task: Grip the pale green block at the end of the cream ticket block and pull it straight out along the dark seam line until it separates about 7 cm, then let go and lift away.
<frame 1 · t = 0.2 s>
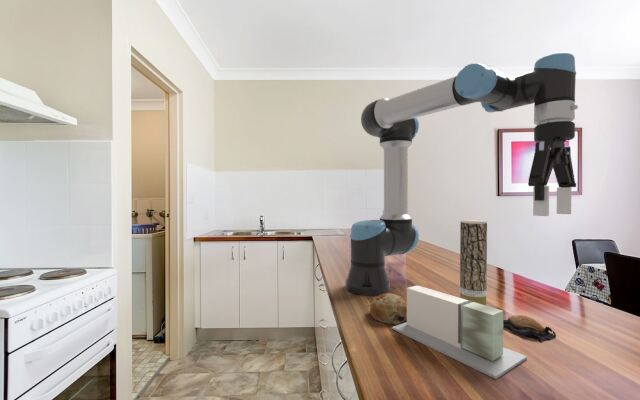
hand: (553, 215, 71), 28 cm above the countertop, tool pointing down, fingers open, 13 cm apart
pale green block: (482, 329, 61), point 5 cm above the countertop, slide at 0.0 cm
ticket block: (448, 340, 67), on the countertop
paper tube: (472, 308, 87), on the countertop
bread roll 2: (524, 333, 72), on the countertop
bread roll: (388, 317, 80), on the countertop
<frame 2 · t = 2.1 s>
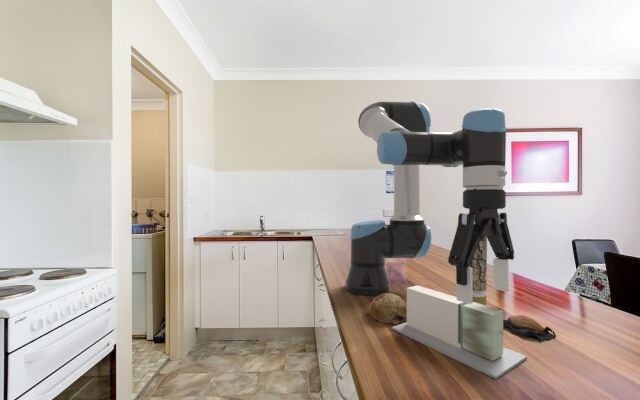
hand: (483, 295, 60), 12 cm above the countertop, tool pointing down, fingers open, 13 cm apart
nothing on the countertop moved.
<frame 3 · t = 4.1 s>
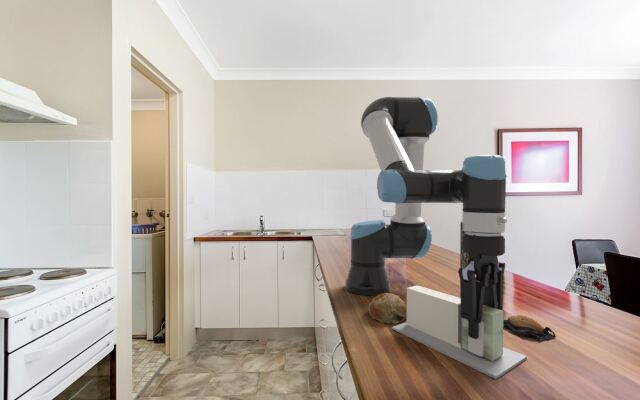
hand: (482, 349, 61), 1 cm above the countertop, tool pointing down, fingers closed on pale green block, 4 cm apart
pale green block: (482, 329, 61), point 5 cm above the countertop, slide at 0.0 cm, touching gripper
everything else where it was.
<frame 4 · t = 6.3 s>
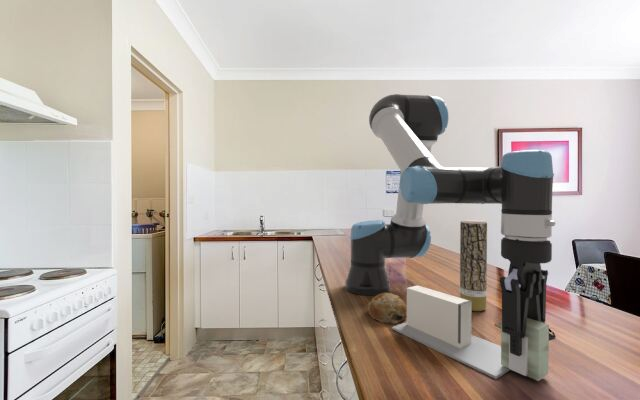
hand: (524, 367, 54), 1 cm above the countertop, tool pointing down, fingers closed on pale green block, 4 cm apart
pale green block: (524, 345, 54), point 5 cm above the countertop, slide at 7.5 cm, touching gripper
everything else where it was.
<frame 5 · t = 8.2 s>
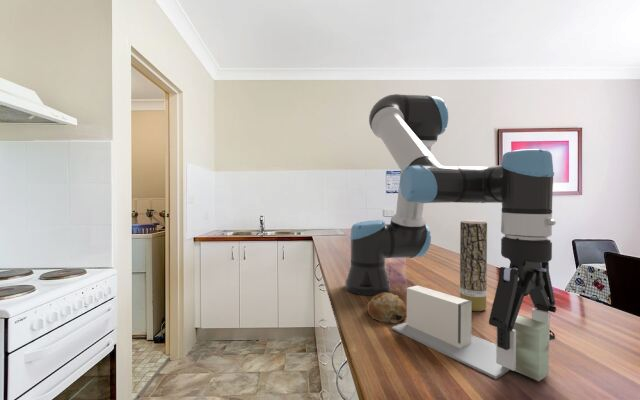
hand: (524, 354, 55), 3 cm above the countertop, tool pointing down, fingers open, 13 cm apart
pale green block: (524, 345, 54), point 5 cm above the countertop, slide at 7.6 cm
everything else where it was.
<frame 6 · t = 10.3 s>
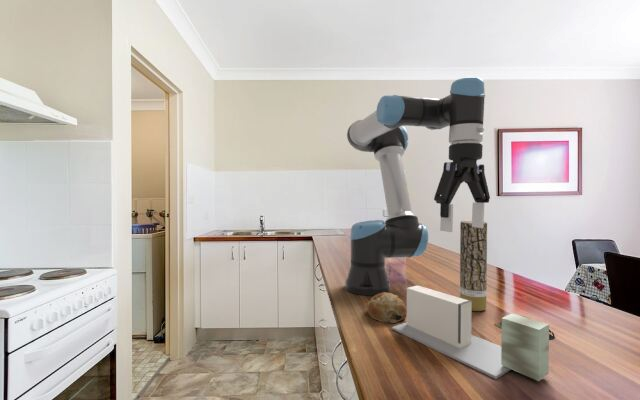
hand: (462, 229, 76), 24 cm above the countertop, tool pointing down, fingers open, 13 cm apart
nothing on the countertop moved.
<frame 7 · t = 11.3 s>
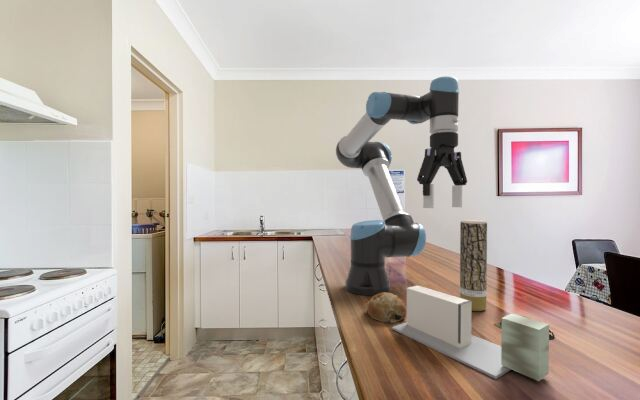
hand: (443, 207, 87), 29 cm above the countertop, tool pointing down, fingers open, 13 cm apart
nothing on the countertop moved.
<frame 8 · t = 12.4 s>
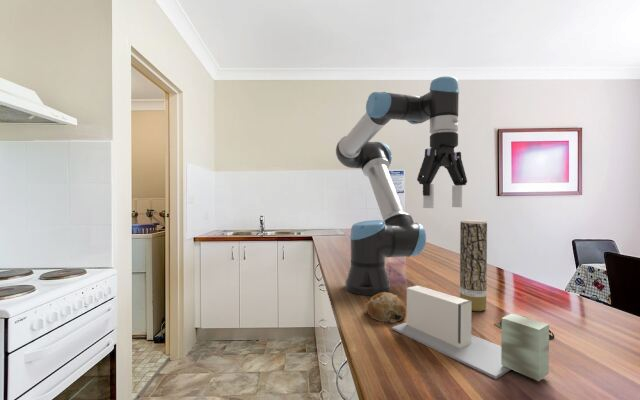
hand: (443, 207, 87), 29 cm above the countertop, tool pointing down, fingers open, 13 cm apart
at the end: pale green block slide at 7.6 cm; the gripper is holding nothing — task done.
